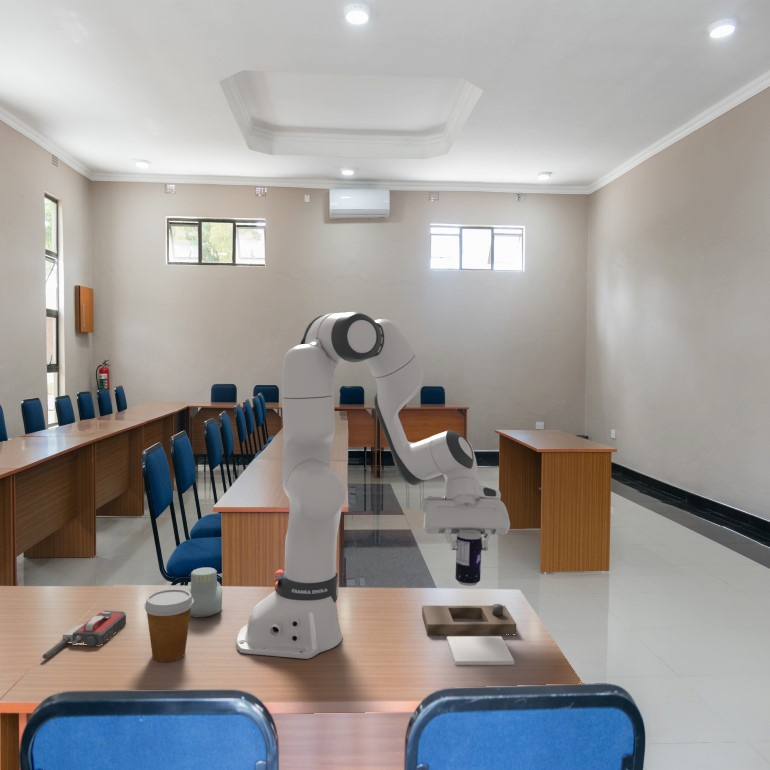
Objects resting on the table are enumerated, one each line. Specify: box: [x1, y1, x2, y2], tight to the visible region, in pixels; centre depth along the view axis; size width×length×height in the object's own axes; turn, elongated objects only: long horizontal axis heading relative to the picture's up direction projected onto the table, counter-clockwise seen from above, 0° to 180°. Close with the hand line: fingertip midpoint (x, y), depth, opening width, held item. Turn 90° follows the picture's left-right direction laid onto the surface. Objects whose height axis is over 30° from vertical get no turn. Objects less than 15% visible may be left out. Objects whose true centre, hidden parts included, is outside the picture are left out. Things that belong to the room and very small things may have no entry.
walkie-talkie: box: [42, 610, 127, 660], centre depth 131 cm, size 9×4×20 cm
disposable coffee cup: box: [143, 588, 194, 663], centre depth 125 cm, size 10×10×12 cm
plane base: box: [421, 603, 517, 636], centre depth 142 cm, size 20×10×4 cm, turn 93°
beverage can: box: [454, 529, 483, 587], centre depth 141 cm, size 6×6×12 cm
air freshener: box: [186, 566, 223, 618], centre depth 146 cm, size 11×8×10 cm
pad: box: [446, 635, 515, 666], centre depth 129 cm, size 12×11×1 cm
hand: (469, 549), depth 141 cm, fingers closed on beverage can, 6 cm apart
